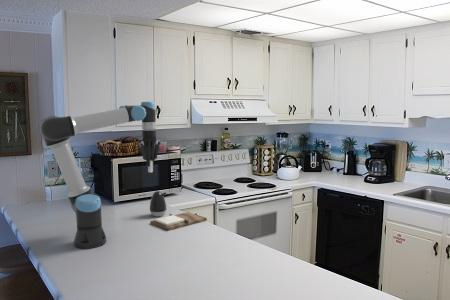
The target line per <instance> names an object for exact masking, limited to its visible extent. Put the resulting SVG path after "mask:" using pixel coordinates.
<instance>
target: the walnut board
mask: <svg viewBox="0 0 450 300" xmlns="http://www.w3.org/2000/svg"><path fill="white" fill-rule="evenodd" d="M171 215H174V216H177V217H180V218H182V219H185V220H184V221H185V222H181V223H177V224H173V225H169V226H166V225H163V224H161V223H158V222H156V221H155V219H154V220H150V225H153V226H155V227H158V228H160V229H163V230H164V231H167V232H169V231H172V230H177V229H180V228H185V227H189V226H192V225H196V224H199V223H203V222H206V221H208V220H207V219H208V218H207V217H205V216H201V215H198V214H196V213H192V212H190V211H187V212H186V211H185V212H183V213H178V214H172V213H169V215H168V216H171Z"/></svg>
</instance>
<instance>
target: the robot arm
mask: <svg viewBox="0 0 450 300" xmlns="http://www.w3.org/2000/svg"><path fill="white" fill-rule="evenodd" d="M156 116H157V115H156V103H155V102H154V101H142V102H141V103H140V104H139V105H138V104H137V105H126V104H125V105H120V106H119V107H118V108H117V109H112V110H105V111H101V112H95V113H90V114H83V115H80V116H72V115H68V116H56V115H49V116H46V117H43V118H42V119H41V121H40V122H39V125H38V130H39V132H40V135H41V136H42V139H43V141H44V143H45V146H46V147H47V148H49V149H51V152H52V154H53V156H54V158H55V160H56V164H57V165H58V168H59V170H60V173H61V175H62V177H63V179H64V182H65V186H67V187H66V188H67V189H68V194H67V197H68V198H67V199H68V200H69V202H70V206H71V208H72V210H73V212H74V213H75V215H76V216H75V217H76V219H75V220H76V231H75V236H74V239H73V245H74V247H75V248H77V249H93V248H97V247H101V246H103V245H105V244H106V243H107V235H106V232H105V231H104V229H103V224H102V223H103V222H102V201H101V197H100V196H99V195H97V194H93V191H92V188H91V187H90V186H88V185H87V184H86V182H85V180H84V178H83V175H82V172H81V169H80V167H79V165H78V162H77V160H76V157H75V155H74V152H73V149H72V148H71V145H70V140H71V137H75V136H76V135H77V134H78V133H83V132H89V131H93V130H98V129H102V128H106V127H112V126H118V125H122V124H126V123H130V122H136V121H137V122H139V121H141V131H142V132H141V136H142V139H141V142H138V144H137V145H138V146H139V149H140V152H141V157H142V159H143V160H144V161H146V167H147V172H148V173H150V174H151V173H153V172H154V166H155V160H157V159H158V153H159V148H160V145H161V141H159V140H157V130H156V129H157V122H156V121H157V120H156Z"/></svg>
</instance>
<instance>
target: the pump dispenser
mask: <svg viewBox="0 0 450 300" xmlns="http://www.w3.org/2000/svg"><path fill="white" fill-rule="evenodd" d="M165 195H167V192H163V193H162V191H158V190H155V191H154V192H153V194H152V196H151V199H150V202H149V211H150V214H151V215H152V216H153V217H156V218H157V217H162V216H163V217H164V215H165V214H166V211H167V202H166V199H165V197H164V196H165Z"/></svg>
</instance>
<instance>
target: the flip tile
mask: <svg viewBox="0 0 450 300" xmlns="http://www.w3.org/2000/svg"><path fill="white" fill-rule="evenodd" d="M174 215H175V214H172V215H171V216H169V215H168V216H163V217H160V218H156V219H154V220H155V221H156V222H158V223H161V224H163V225H166V226H169V225H173V224H177V223H181V222H185V221H184V220H185V219H182V218H180V217H177V216H174Z"/></svg>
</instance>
